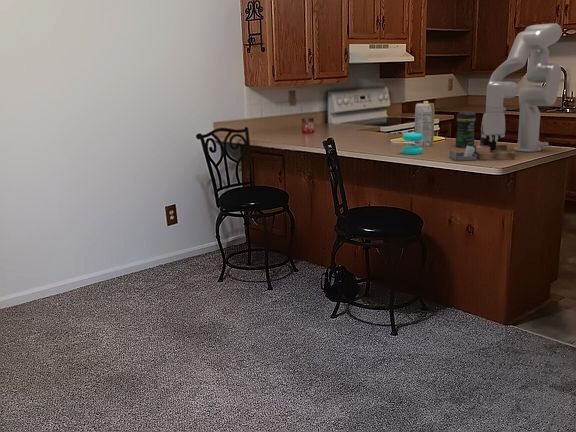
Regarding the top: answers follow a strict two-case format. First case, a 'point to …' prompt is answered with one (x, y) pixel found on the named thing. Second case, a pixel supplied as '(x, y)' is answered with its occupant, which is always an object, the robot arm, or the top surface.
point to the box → (462, 156)
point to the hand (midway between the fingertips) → (492, 149)
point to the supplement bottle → (485, 141)
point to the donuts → (412, 137)
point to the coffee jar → (465, 129)
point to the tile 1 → (469, 151)
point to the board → (496, 154)
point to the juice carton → (424, 123)
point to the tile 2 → (483, 149)
